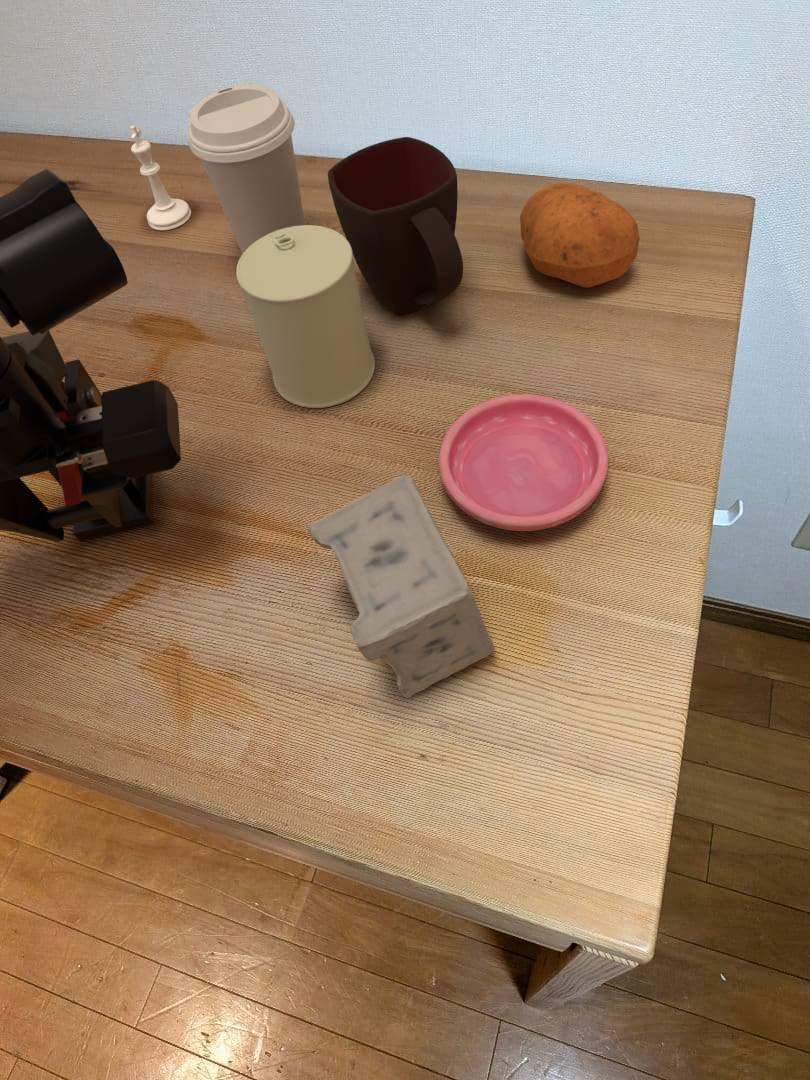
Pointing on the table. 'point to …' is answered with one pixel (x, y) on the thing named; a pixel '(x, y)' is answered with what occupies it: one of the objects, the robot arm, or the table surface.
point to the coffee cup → (249, 159)
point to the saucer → (523, 462)
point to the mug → (400, 221)
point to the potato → (578, 234)
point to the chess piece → (158, 190)
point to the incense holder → (404, 586)
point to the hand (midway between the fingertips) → (91, 528)
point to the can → (308, 314)
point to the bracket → (131, 496)
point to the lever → (70, 495)
